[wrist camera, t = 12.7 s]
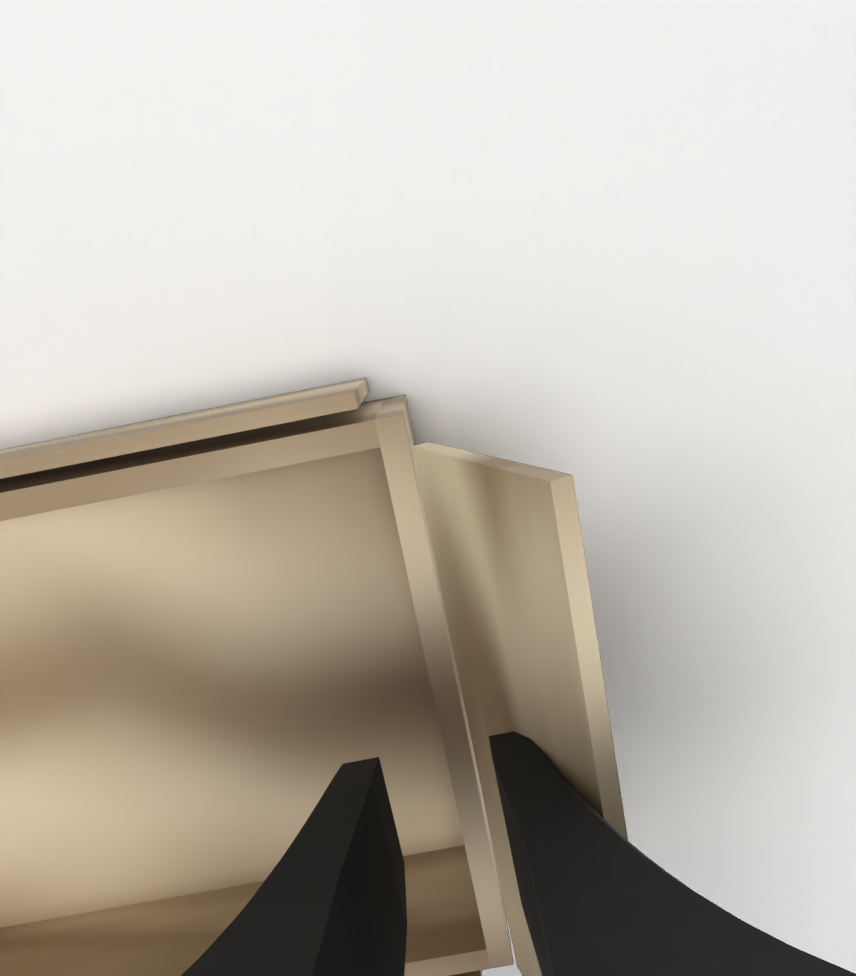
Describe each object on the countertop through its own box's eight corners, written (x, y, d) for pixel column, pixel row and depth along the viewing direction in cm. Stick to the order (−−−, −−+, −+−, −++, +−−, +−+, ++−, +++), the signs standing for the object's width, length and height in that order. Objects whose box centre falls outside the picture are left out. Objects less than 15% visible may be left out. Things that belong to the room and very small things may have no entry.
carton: (499, 865, 19) (518, 985, 16) (-37, 961, 19) (-134, 1097, 16) (400, 369, 16) (395, 383, 13) (-229, 494, 16) (-399, 539, 13)
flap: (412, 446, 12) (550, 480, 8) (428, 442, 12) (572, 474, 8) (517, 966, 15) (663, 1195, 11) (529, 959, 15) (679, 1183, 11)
